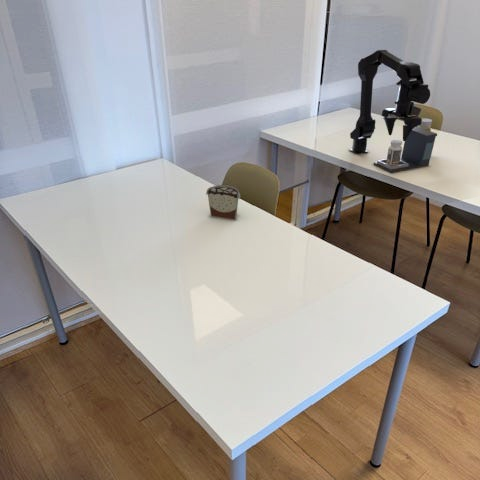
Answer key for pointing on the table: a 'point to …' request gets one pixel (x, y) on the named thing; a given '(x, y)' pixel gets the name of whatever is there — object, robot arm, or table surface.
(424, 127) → the bottle
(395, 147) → the pill bottle
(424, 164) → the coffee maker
